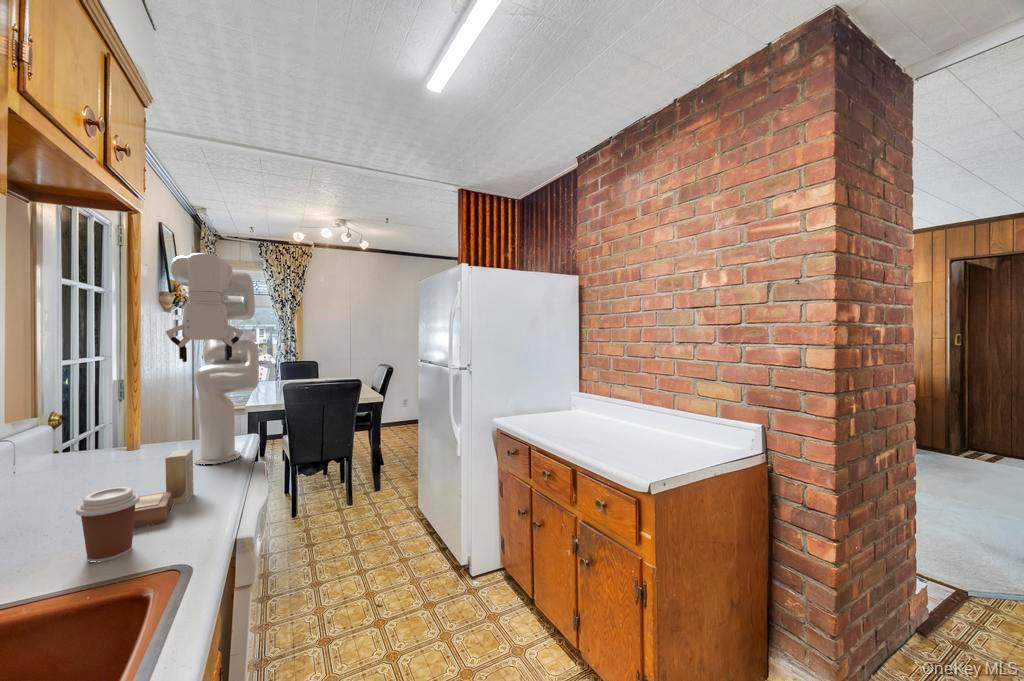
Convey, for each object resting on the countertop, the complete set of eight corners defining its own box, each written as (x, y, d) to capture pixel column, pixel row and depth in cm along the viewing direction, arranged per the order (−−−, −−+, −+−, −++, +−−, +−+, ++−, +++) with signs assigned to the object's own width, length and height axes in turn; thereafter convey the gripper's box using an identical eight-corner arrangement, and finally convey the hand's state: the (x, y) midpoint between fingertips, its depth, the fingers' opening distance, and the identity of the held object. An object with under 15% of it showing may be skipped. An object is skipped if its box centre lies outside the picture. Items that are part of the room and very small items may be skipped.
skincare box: (174, 496, 111) (173, 450, 110) (194, 493, 112) (193, 448, 112) (165, 506, 105) (164, 457, 104) (186, 503, 106) (185, 455, 106)
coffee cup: (132, 537, 89) (131, 481, 89) (147, 550, 84) (146, 491, 84) (71, 556, 82) (69, 495, 81) (83, 572, 77) (81, 507, 76)
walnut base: (118, 515, 99) (118, 498, 99) (172, 506, 105) (172, 490, 104) (106, 533, 91) (105, 515, 91) (165, 522, 96) (165, 505, 96)
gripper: (239, 301, 126) (240, 359, 126) (164, 298, 114) (165, 361, 114) (244, 299, 120) (245, 360, 120) (166, 296, 108) (167, 363, 109)
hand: (206, 360), depth 117 cm, fingers open, 9 cm apart
